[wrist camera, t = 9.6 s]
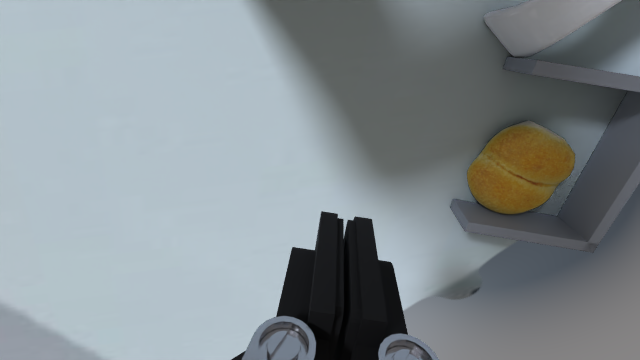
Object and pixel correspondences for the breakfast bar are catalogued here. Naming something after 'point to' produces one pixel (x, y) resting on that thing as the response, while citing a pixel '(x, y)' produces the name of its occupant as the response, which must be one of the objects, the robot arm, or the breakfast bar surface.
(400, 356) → the robot arm
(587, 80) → the box
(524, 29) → the spoon rest
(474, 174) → the bread roll
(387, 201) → the breakfast bar surface
